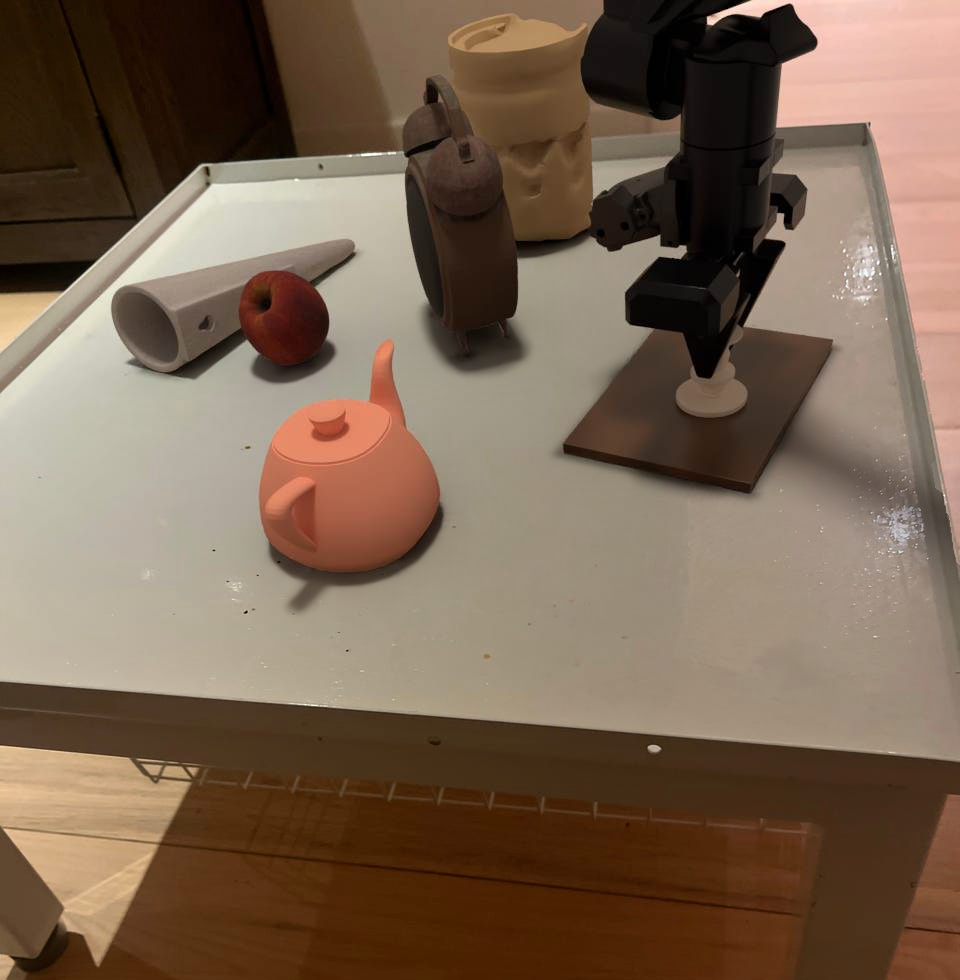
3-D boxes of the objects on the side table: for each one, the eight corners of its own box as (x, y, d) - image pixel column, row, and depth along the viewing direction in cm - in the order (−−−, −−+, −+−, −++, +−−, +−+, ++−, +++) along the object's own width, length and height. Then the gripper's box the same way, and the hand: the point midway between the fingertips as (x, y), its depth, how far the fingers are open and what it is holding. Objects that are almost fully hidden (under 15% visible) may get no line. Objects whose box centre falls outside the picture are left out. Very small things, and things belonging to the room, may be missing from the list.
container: (523, 198, 105) (507, 6, 92) (618, 218, 98) (615, 14, 85) (446, 244, 99) (418, 45, 86) (542, 268, 92) (527, 58, 79)
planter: (288, 199, 101) (99, 280, 84) (354, 205, 97) (170, 291, 80) (302, 274, 105) (126, 365, 89) (365, 282, 102) (194, 379, 85)
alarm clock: (413, 305, 90) (370, 67, 76) (487, 287, 91) (458, 48, 77) (450, 379, 80) (409, 120, 66) (533, 358, 81) (510, 98, 67)
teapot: (224, 587, 65) (175, 472, 58) (344, 436, 76) (315, 325, 69) (384, 619, 61) (352, 498, 54) (486, 454, 72) (470, 338, 65)
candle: (669, 415, 71) (672, 280, 64) (682, 378, 74) (687, 245, 67) (741, 421, 69) (753, 283, 62) (751, 383, 73) (764, 247, 65)
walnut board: (831, 348, 76) (833, 339, 76) (749, 493, 65) (750, 483, 64) (665, 323, 82) (665, 314, 82) (563, 452, 71) (562, 443, 70)
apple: (236, 367, 86) (207, 281, 80) (299, 329, 90) (276, 244, 84) (290, 389, 82) (264, 300, 76) (354, 348, 86) (334, 260, 80)
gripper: (661, 79, 67) (658, 291, 79) (541, 182, 57) (558, 411, 68) (822, 84, 63) (795, 309, 74) (724, 198, 52) (710, 440, 63)
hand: (714, 363), depth 70 cm, fingers closed on candle, 4 cm apart
